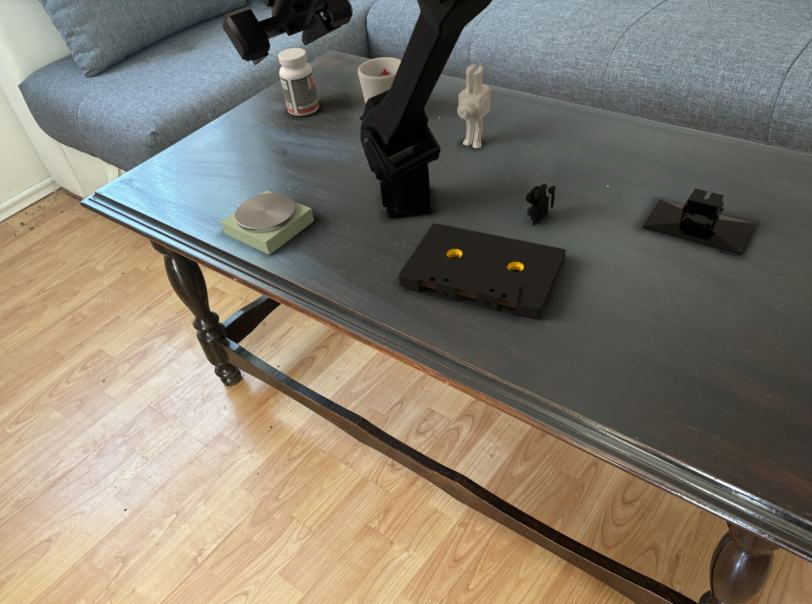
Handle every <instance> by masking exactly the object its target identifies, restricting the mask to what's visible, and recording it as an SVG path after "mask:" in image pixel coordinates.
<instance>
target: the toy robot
mask: <svg viewBox="0 0 812 604" xmlns="http://www.w3.org/2000/svg"><path fill="white" fill-rule="evenodd" d="M465 84H466V86H465V88H463V90H461V91H460V92H459V93H458V95H457V96H458V97H457V99H458V106H457V108H456V110H457V111H456V112H457V114H458V117H459V118H461V119H462V120H465V123H466V134H465V139H464V140H463V142H462V145H464V146H471V145H472V148H474V149H479V148H482V146H483V145H482V134H483V131H484V123H483V121H484V120H483V118H484V117H485V116H487V114H488V113H489V112H491V94H492V88H491V87H490V86H489V85H487V84H483V66H482V64H479V66H478V67H477V64H476V63H474V64H470V65H469V66H467V67H466V69H465Z"/></svg>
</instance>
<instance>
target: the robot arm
mask: <svg viewBox="0 0 812 604" xmlns="http://www.w3.org/2000/svg"><path fill="white" fill-rule="evenodd" d="M493 1H494V0H416V2H417V4H418V8H419V15H418V17H417V20H416V22H415V25H414V27H413V29H412V32H411V35H410V37H409V39H408V42H407V45H406V48H405V50H404V52H403V55H402V58H401V59H400V60H401V62H400V65H399V67H398V70H397V72H396V75H395V77H394V80H393V82H392V85H391V87H390V89H389V90H387V91H384V92H382V93H380V94H378V95H375V96H373V97H371V98H369V99H368V100H367V102H366V104H364V110H363V113H362V115H361V116H359V120H360V121H361V123H360V143H361V146H362V149H363V151H364V155H365V157H366V160H367V164H368V167H369V169H370V172H372V173H374V175H375V180H378V181H379V189H380V196H381V204H382V207H383V208H386V217H387V218H390V219H392V218H400V217H401V218H402V217H408V216H417V215H425V214H432V213H433V212H434V207H433V203H432V198H431V186H430V185H431V183H430V169H429V164H430V163H432V162H434V161H437V160H439V158H440V155H441V150H442V148H441V146H440V144H439V142H438V140H437V139H436V137H435V136H434V135H435V134H433V132H432V130H431V128H430V127H429V125H428V124H429V121H430V119H429V116H428V114H427V112H426V109H425V108H426V106H427V103H428V101H429V100H430V98H431V95H432V93H433V91H434V89H435V87H436V85H437V83H438V81H439V79H440V77H441V75H442V73H443V71H444V69H445V67H446V65H447V63H448V61H449V59H450V57H451V55H452V53H453V50H454V48H455V46H456V45H457V42H458V40H459V38H460V36H461V34H462V33H463V30H464V29H465V27H467V25H468V24H470V23H471V22H472V21H473V20H474V19H475V18H476V17H478V16H479V15H480V14H481V13H482V12H483V11H485V10H486V9H487V8H488V7H489V6H490V5H491V3H492V2H493ZM262 2H263V3H264V5H265V6H266V8H270V9H271V10H270V12H271V16H270V17H267V18H265V19H262V20H258V18H257V16H256V14H255V13H254V12H253V10H252V8H249V7H247V6H246V7H243V8H240V9H237V10H234V11H231V12H228V13H226V14H224V18H223V22H222V29H223V31H224V32H225V35H226V36H227V37H228V39H229V41H230V42H231V44H232V45H233V47H234V49H235V51H236V52H237V53H238V55H239V57H240V58H241V60H243V61H245V62H250V61H251V62H252V64H253V66H256V65H258V64H260V63H261V62H262V61H263V60H264V59H266V58H267V57H268V56H269V55H270V53H269V51H270V49H271V42H270V39H273V38H276V37H278V36H281V35H284V34H286V35H287V36H288V37H291V36H293V35H296V34H299V33H301V42H302V44H303V46H305V47H306V46H308V45H310V44H312V43H314V42H315V41H317V40H319V39H321V38H323V37H325V36H326V35H328V34H331V33H332V32H334V31H336V30H338V29H340V28H342V27H343V26H345V25H347V24H349V23H350V22H351V19H352V17H353V15H354V14H353V13H354V10H353V9H354V8H353V5H352V3H351V1H350V0H262Z"/></svg>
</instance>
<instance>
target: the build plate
mask: <svg viewBox="0 0 812 604" xmlns="http://www.w3.org/2000/svg"><path fill="white" fill-rule="evenodd" d="M707 194H708V190H705V189H700V188H694V189H693V191H692V193H691V194H690V195H689V196H688V198H687V199H686V202H684V204H680V203H676V202H673V201H670V200H666V199H659V200H658V201H657V202H656V204H655V205H654V207H653V208H652V210H651V212H650V213H649V215H648V216H647V218H646V219H645V221H644V223H643V224H642V226H641V228H642V229H643V230H647V231H650V232H654V233H657V234H661V235H664V236H668V237H672V238H675V239H679V240H683V241H686V242H690V243H693V244H696V245H701V246H703V247H707V248H711V249H715V250H718V251H719V252H721V253H725V254H727V255H732V256H741V255H742V253H743V251H744V249H745V247H746V244H747V242H748V241H749V238H750V236H751V234H752V231H753V229H754V227H755V225H756V224H755V223H754V222H751V221H748V220H743V219H739V218H735V217H731V216H728V215H724V214H722V212H724V210H725V207H724V206H725V201H723V200H724V197H725V195H724V194H720V193H716V192H711V193H710V195H709V197H708V198H705V197H706V196H707Z"/></svg>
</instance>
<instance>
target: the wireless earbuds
mask: <svg viewBox="0 0 812 604" xmlns="http://www.w3.org/2000/svg"><path fill="white" fill-rule="evenodd" d="M556 191H557V187H556V185H551V186H549V187H548V184H547V183H542V184H540V185H535V186H534V187H532V189H531V190H529V191H528V193H526V195H525V201H526V202H527V203H528V204H530V205H531V206H528V207H527V210H526V214H527V217H530V221H531V222H532V223H531V226H532V227H536V224H539V223H541V222H542V221H543V219H545V218H546V216H548V213H549V206H550V208H551V209H554V208H555V198H556V197H555V196H556V194H555V193H556ZM547 192H548V193H549V194H550V196H548V195H547Z"/></svg>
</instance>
